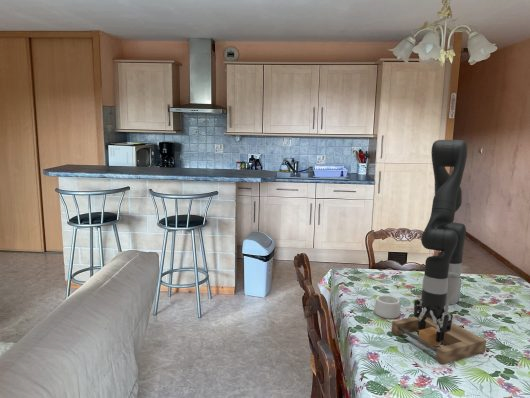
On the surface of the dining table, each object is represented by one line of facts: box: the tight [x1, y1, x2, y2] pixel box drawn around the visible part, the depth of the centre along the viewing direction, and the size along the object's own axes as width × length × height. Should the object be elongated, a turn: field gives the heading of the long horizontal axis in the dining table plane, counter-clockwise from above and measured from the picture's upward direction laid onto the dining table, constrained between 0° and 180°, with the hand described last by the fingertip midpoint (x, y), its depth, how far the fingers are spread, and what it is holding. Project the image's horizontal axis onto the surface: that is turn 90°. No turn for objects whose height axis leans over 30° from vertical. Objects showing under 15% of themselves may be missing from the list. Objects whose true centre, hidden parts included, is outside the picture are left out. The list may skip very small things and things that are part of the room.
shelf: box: [390, 315, 487, 365], centre depth 139 cm, size 19×22×4 cm
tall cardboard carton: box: [417, 327, 442, 349], centre depth 138 cm, size 6×4×4 cm, turn 115°
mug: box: [373, 294, 401, 320], centre depth 160 cm, size 12×10×6 cm
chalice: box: [444, 272, 462, 323], centre depth 153 cm, size 7×7×18 cm
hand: (430, 336), depth 137 cm, fingers open, 6 cm apart
